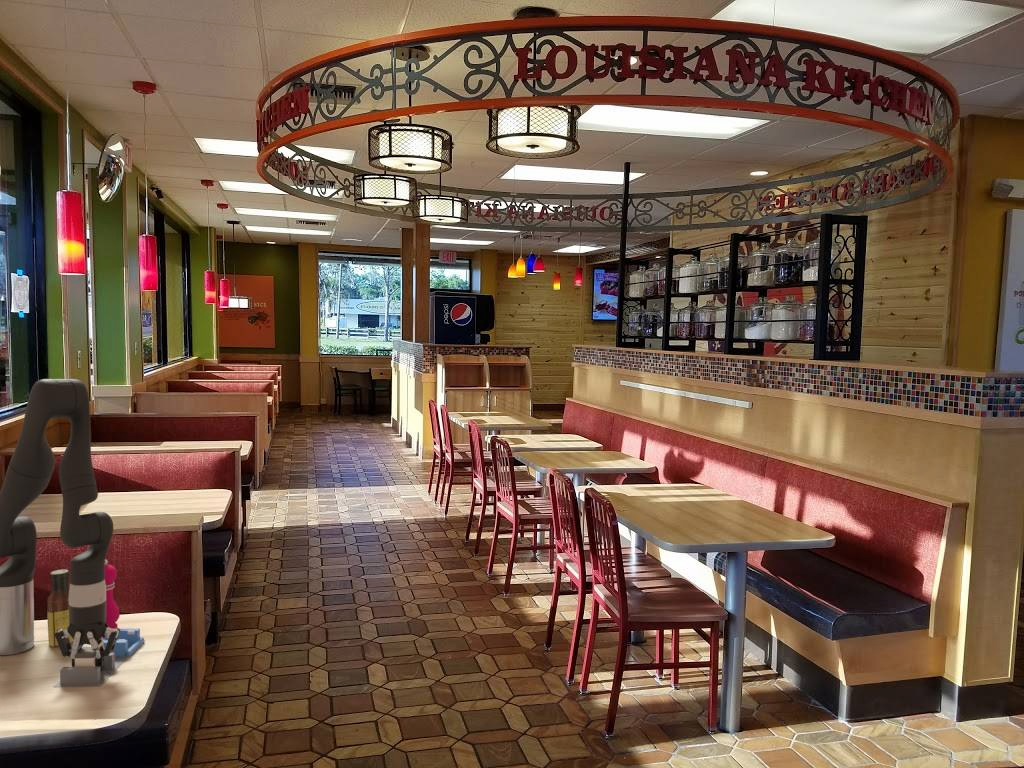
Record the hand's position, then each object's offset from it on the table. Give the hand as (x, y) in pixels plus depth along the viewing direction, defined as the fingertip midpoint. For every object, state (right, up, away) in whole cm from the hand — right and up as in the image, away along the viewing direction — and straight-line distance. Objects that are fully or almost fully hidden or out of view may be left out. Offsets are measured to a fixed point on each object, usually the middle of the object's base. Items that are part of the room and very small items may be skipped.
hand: (88, 672), depth 176 cm
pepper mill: (-12, 0, +29) cm, 31 cm away
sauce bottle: (-17, -1, +18) cm, 25 cm away
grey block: (0, -1, 0) cm, 1 cm away
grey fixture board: (-1, -2, +8) cm, 8 cm away
